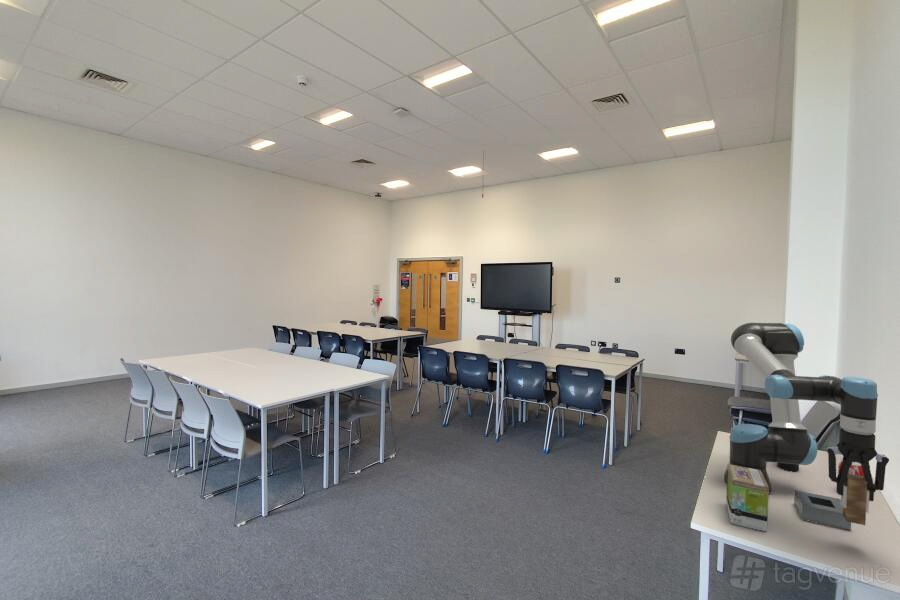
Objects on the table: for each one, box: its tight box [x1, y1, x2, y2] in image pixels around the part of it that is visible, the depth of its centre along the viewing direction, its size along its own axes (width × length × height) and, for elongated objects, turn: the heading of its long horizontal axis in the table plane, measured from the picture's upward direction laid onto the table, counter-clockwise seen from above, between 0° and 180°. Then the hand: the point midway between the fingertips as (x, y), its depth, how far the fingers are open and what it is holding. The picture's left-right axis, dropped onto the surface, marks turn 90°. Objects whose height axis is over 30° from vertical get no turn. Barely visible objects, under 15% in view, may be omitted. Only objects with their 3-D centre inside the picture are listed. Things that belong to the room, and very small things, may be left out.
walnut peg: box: [843, 474, 867, 526], centre depth 122 cm, size 4×4×13 cm
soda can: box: [837, 458, 864, 478], centre depth 154 cm, size 7×7×12 cm
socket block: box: [793, 489, 852, 531], centre depth 138 cm, size 12×12×5 cm
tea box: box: [725, 463, 770, 532], centre depth 137 cm, size 15×10×15 cm, turn 151°
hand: (854, 507), depth 122 cm, fingers closed on walnut peg, 4 cm apart
